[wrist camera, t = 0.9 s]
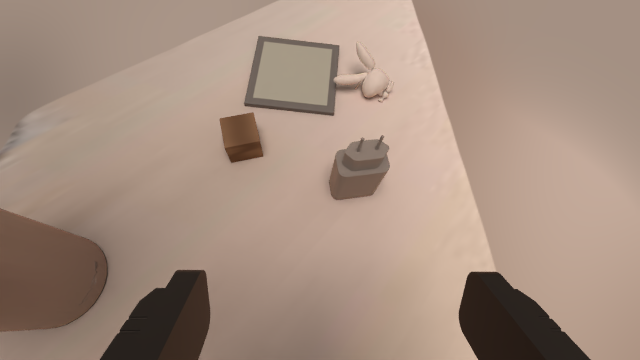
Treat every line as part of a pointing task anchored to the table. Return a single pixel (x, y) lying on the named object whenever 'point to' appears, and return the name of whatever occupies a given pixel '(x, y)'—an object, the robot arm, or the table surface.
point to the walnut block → (241, 137)
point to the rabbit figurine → (367, 76)
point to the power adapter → (359, 169)
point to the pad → (293, 76)
